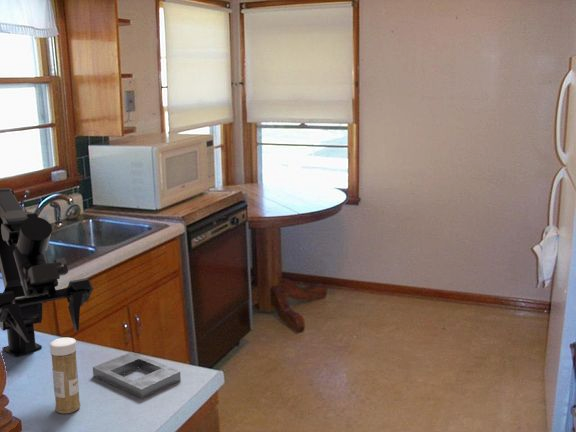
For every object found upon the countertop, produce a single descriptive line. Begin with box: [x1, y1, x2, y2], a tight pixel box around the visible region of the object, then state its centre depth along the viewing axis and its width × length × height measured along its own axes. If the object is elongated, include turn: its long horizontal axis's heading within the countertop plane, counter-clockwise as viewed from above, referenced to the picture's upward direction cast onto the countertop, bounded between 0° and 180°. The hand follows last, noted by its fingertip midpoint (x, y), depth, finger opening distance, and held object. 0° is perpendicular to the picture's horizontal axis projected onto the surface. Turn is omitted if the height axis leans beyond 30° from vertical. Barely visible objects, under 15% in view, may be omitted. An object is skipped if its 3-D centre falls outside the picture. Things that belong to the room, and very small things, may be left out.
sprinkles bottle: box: [49, 337, 81, 415], centre depth 113 cm, size 5×5×14 cm
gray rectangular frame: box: [92, 351, 182, 400], centre depth 126 cm, size 16×10×2 cm, turn 52°
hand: (53, 335), depth 117 cm, fingers open, 9 cm apart
